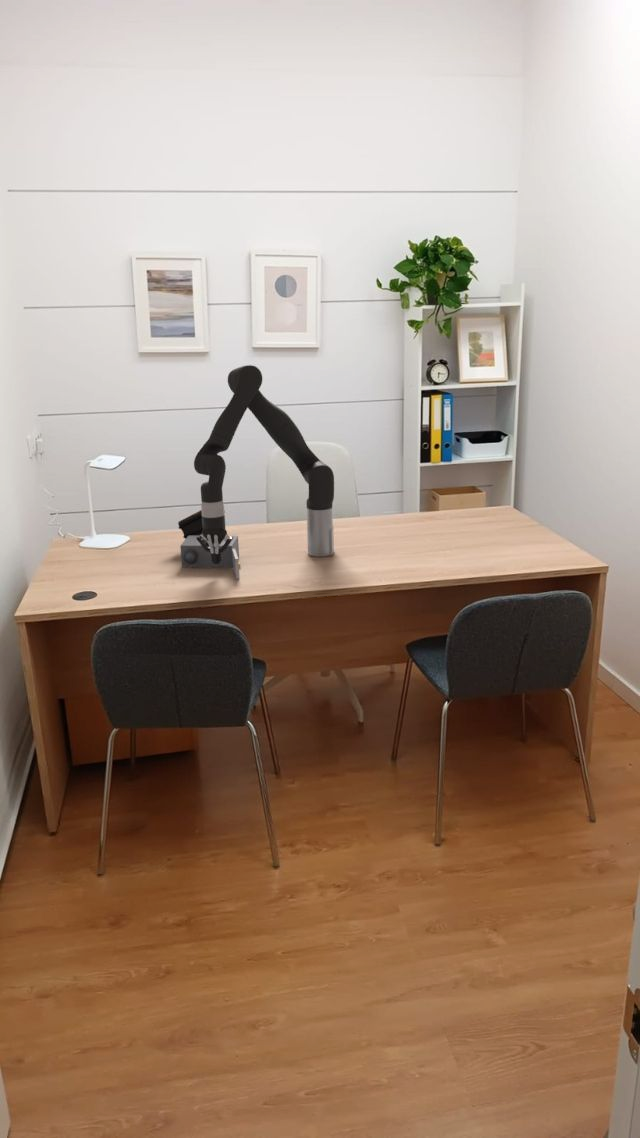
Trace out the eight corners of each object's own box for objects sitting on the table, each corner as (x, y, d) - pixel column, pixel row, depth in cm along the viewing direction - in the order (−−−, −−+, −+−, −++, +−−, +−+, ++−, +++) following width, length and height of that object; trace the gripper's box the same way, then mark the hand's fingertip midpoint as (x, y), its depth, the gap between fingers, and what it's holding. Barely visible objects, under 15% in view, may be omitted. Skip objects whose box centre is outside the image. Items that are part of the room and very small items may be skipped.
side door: (232, 567, 296) (231, 548, 293) (237, 567, 296) (236, 547, 294) (236, 578, 284) (235, 558, 282) (241, 578, 285) (240, 558, 282)
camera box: (239, 556, 308) (237, 533, 305) (232, 569, 295) (230, 544, 292) (190, 556, 309) (188, 533, 306) (180, 568, 297) (179, 544, 294)
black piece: (224, 545, 316) (204, 510, 311) (193, 561, 317) (172, 526, 312) (224, 542, 319) (204, 507, 315) (193, 558, 321) (173, 524, 316)
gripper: (190, 515, 280) (194, 565, 286) (227, 517, 277) (230, 568, 282) (199, 509, 287) (202, 558, 293) (235, 511, 284) (239, 561, 289)
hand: (216, 563), depth 288 cm, fingers closed
